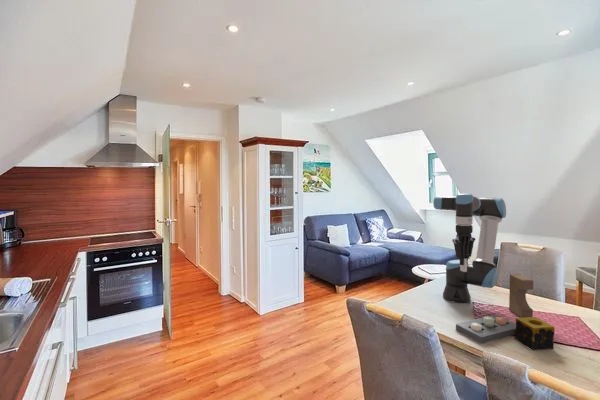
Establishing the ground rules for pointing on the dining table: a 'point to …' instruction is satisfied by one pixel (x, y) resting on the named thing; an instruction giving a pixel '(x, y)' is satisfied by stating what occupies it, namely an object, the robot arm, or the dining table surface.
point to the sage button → (488, 322)
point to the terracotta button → (501, 321)
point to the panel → (487, 330)
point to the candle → (534, 333)
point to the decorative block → (520, 295)
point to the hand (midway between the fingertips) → (463, 271)
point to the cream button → (476, 327)
